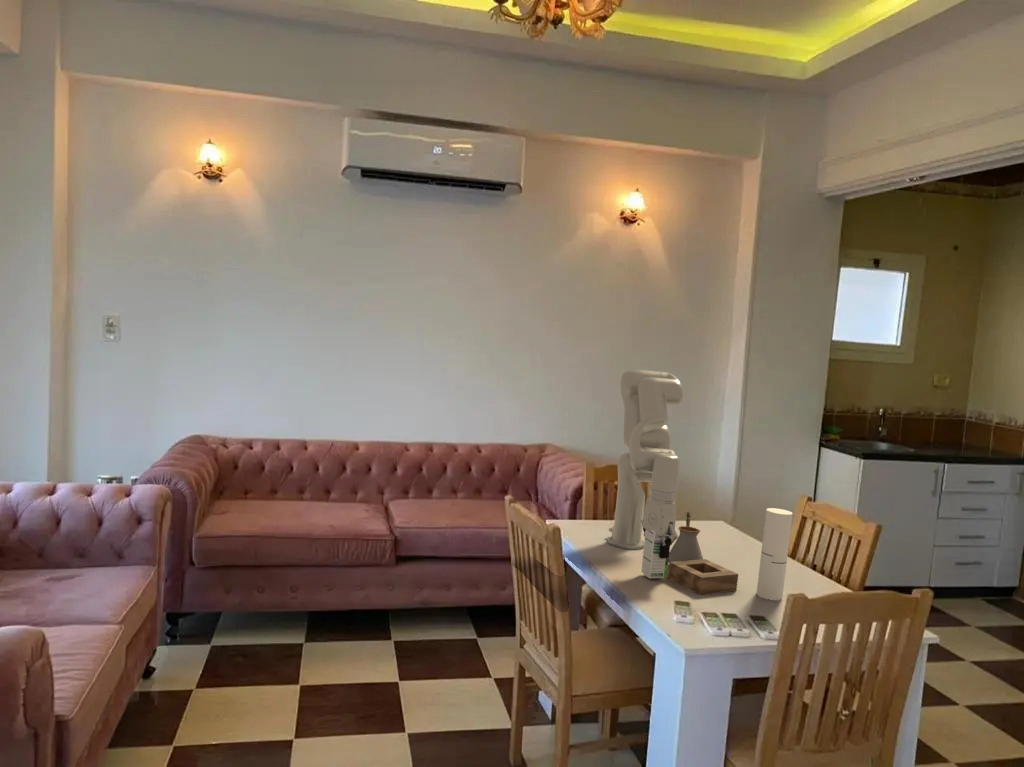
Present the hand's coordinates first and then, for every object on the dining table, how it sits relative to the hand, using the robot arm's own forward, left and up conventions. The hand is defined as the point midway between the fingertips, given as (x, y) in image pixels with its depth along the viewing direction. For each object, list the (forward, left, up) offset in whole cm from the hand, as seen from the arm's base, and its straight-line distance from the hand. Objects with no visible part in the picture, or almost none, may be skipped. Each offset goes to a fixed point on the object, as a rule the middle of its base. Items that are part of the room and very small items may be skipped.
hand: (656, 553), depth 226 cm
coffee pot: (-8, +19, -8) cm, 22 cm away
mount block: (+9, +11, -7) cm, 16 cm away
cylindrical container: (+22, +25, -8) cm, 34 cm away
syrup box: (0, 0, -7) cm, 7 cm away
